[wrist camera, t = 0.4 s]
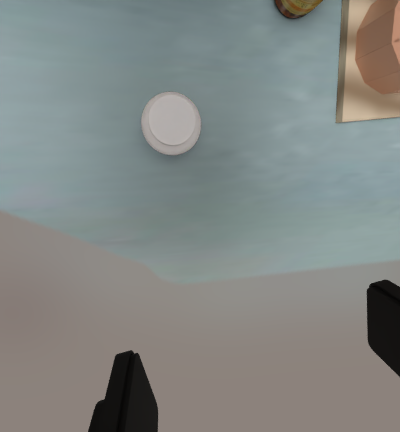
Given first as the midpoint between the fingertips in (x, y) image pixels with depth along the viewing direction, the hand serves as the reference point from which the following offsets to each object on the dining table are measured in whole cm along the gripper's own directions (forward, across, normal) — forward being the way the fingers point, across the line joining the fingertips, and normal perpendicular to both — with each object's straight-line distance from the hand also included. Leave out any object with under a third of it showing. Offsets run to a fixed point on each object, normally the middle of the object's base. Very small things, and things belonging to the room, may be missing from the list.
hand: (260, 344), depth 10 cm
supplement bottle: (+31, 0, -10) cm, 33 cm away
